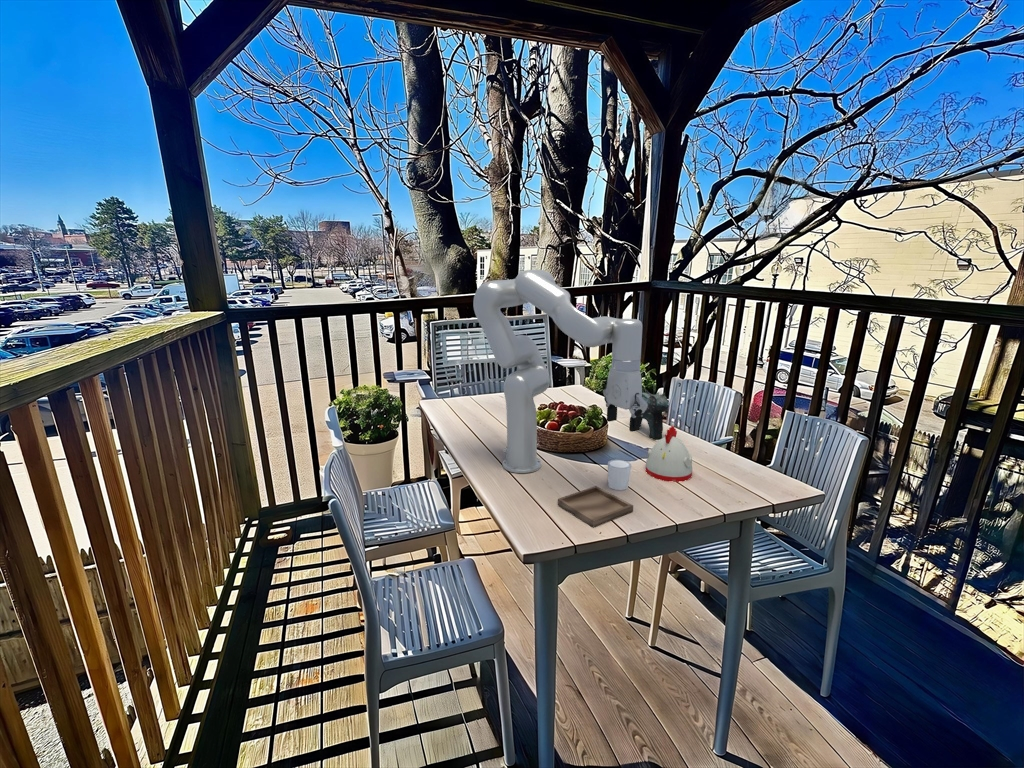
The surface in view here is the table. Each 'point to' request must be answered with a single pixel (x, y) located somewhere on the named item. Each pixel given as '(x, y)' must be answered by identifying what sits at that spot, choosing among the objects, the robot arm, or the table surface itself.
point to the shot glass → (618, 474)
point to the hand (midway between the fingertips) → (622, 425)
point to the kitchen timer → (669, 459)
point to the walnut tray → (595, 506)
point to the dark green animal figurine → (654, 413)
